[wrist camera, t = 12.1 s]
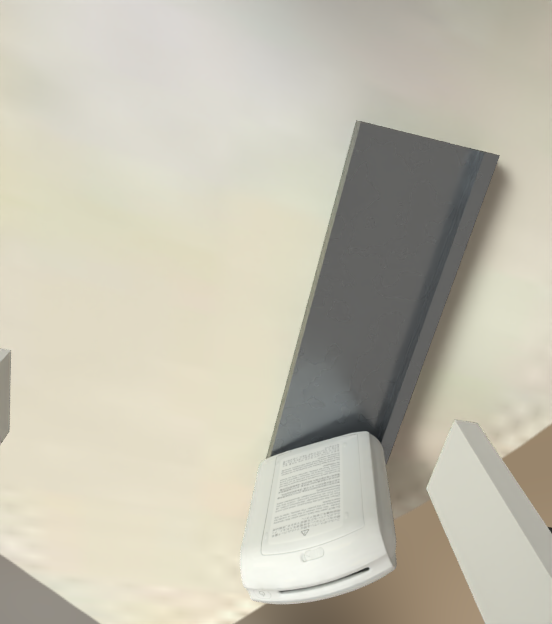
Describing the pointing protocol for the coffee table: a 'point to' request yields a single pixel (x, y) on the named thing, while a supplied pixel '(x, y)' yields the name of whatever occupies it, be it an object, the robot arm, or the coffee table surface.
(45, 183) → the coffee table surface
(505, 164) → the coffee table surface
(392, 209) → the rail
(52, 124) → the coffee table surface
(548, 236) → the coffee table surface
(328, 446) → the photo printer
